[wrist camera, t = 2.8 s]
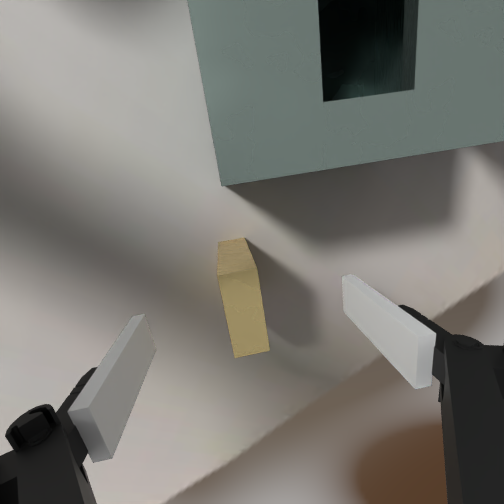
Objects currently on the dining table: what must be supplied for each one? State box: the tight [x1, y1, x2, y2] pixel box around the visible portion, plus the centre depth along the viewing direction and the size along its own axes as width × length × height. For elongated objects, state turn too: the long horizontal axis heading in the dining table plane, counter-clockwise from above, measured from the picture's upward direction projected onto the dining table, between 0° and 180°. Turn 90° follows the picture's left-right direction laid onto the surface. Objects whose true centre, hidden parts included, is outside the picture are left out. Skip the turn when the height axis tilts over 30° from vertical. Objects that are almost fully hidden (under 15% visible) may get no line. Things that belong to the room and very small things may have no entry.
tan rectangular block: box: [217, 238, 270, 358], centre depth 19 cm, size 2×6×8 cm, turn 9°
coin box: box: [187, 0, 504, 186], centre depth 14 cm, size 14×14×10 cm
